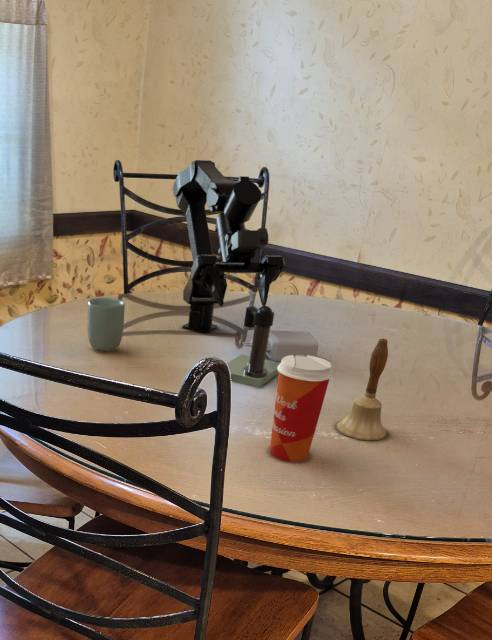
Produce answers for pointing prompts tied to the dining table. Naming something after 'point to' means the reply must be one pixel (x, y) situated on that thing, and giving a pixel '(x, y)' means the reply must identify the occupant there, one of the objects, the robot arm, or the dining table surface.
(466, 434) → the dining table surface
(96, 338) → the cup
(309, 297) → the dining table surface
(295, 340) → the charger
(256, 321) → the spout
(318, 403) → the coffee cup
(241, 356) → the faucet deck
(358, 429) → the hand bell
